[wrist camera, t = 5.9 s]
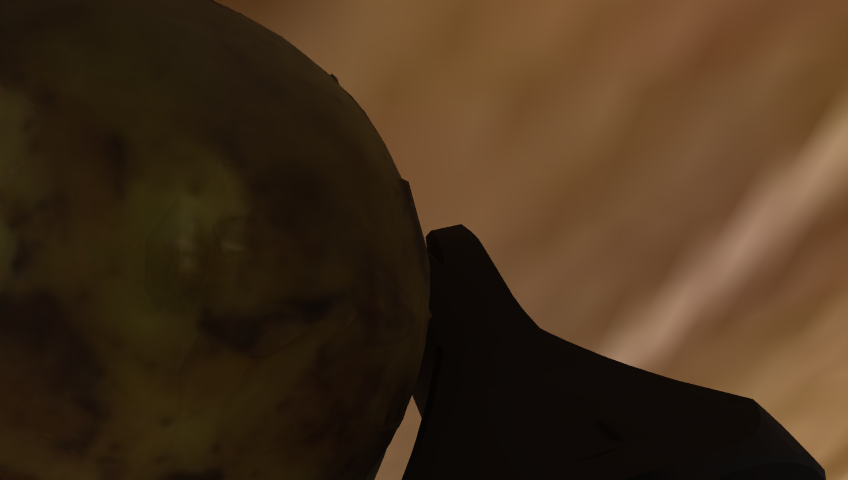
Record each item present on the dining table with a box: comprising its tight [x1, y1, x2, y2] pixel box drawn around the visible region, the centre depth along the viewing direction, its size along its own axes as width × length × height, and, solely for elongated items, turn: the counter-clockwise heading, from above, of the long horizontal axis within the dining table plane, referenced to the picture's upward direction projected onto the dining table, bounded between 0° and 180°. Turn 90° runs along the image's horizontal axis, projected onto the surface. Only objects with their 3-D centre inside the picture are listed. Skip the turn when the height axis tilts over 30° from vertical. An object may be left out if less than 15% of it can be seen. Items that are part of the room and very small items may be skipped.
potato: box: [0, 0, 432, 480], centre depth 9 cm, size 8×13×8 cm, turn 142°
